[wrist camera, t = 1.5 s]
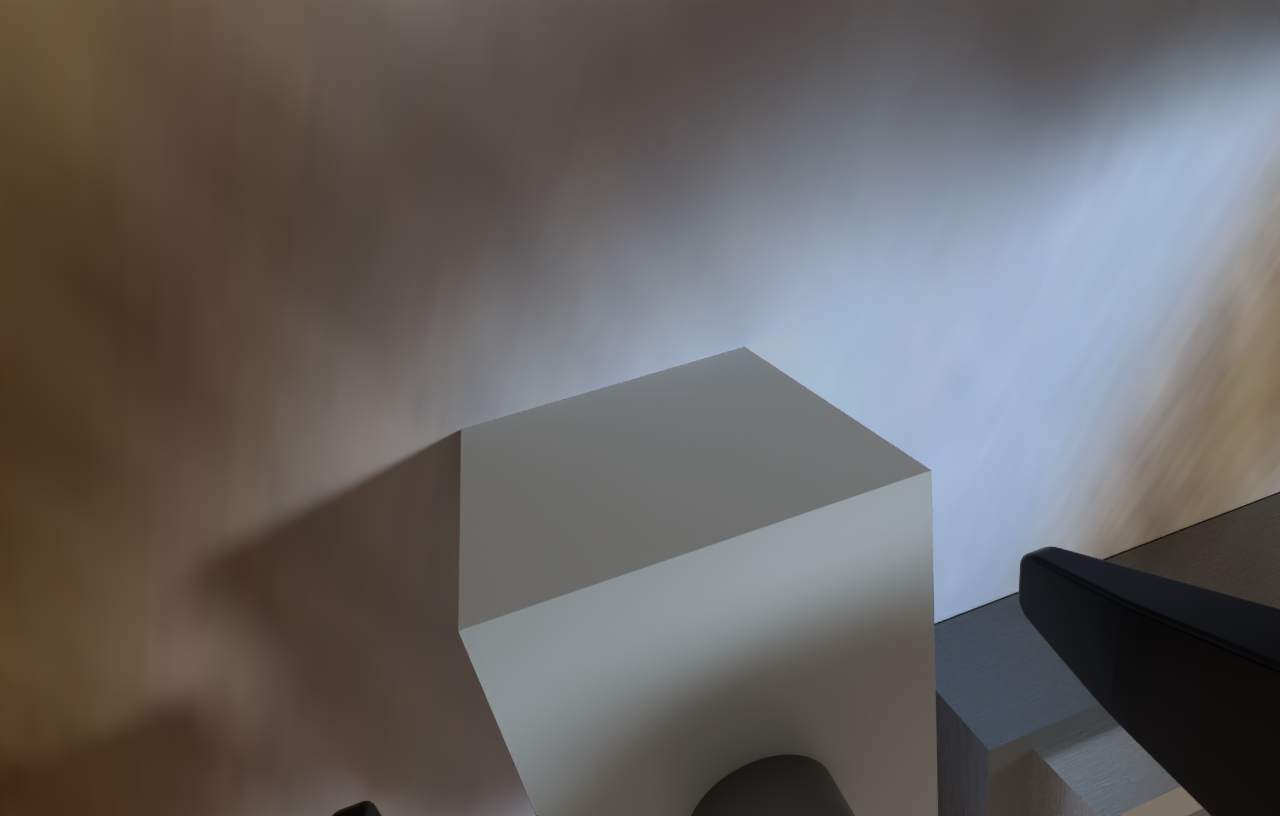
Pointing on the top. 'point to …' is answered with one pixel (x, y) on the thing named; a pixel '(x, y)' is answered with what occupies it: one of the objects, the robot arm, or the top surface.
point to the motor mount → (1074, 692)
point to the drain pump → (702, 600)
